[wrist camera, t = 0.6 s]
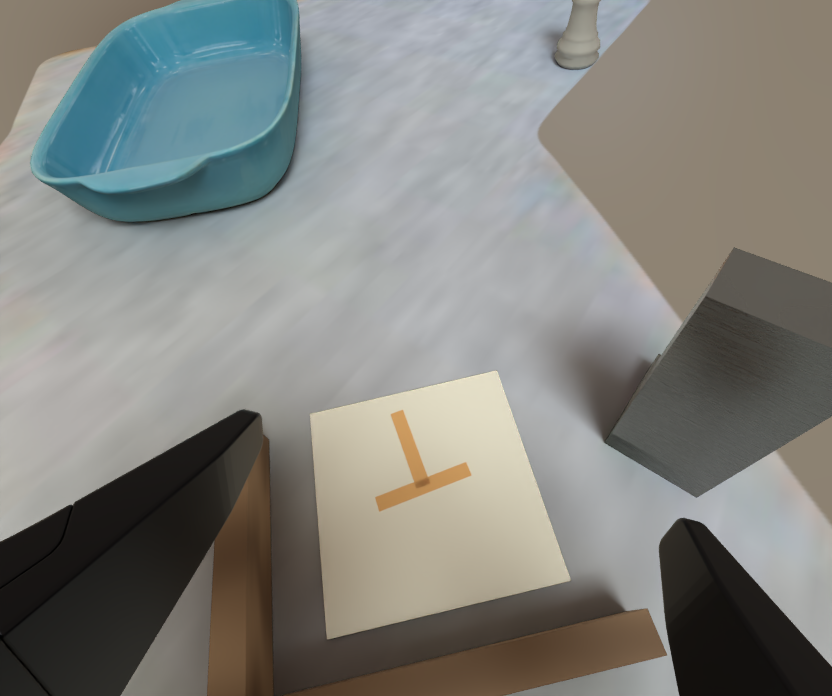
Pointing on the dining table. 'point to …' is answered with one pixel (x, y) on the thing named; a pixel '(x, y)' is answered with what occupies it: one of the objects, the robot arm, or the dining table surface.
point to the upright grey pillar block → (734, 376)
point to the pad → (427, 506)
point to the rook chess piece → (579, 37)
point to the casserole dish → (179, 112)
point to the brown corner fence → (405, 685)
